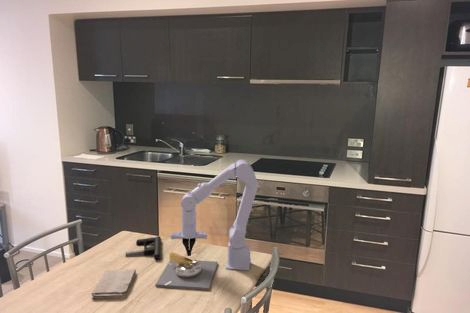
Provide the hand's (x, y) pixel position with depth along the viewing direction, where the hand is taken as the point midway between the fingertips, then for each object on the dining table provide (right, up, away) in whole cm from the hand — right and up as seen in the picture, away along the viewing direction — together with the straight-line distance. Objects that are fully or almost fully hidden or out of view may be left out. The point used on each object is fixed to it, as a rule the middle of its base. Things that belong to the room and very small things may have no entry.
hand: (189, 254), depth 145 cm
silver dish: (-1, -4, -5) cm, 7 cm away
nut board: (0, -6, -6) cm, 8 cm away
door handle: (-22, -3, +14) cm, 26 cm away
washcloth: (-26, -8, -14) cm, 30 cm away
